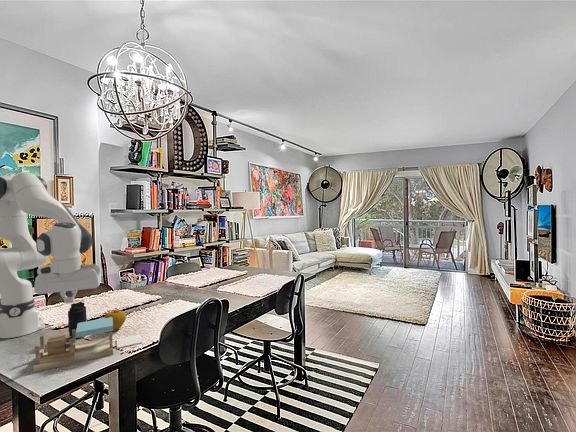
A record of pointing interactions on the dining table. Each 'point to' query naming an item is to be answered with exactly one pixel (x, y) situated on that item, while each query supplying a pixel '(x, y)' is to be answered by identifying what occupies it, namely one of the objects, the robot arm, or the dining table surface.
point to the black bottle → (76, 316)
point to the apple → (117, 318)
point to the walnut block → (56, 345)
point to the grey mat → (128, 341)
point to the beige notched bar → (73, 352)
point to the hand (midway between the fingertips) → (69, 302)
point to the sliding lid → (94, 327)
